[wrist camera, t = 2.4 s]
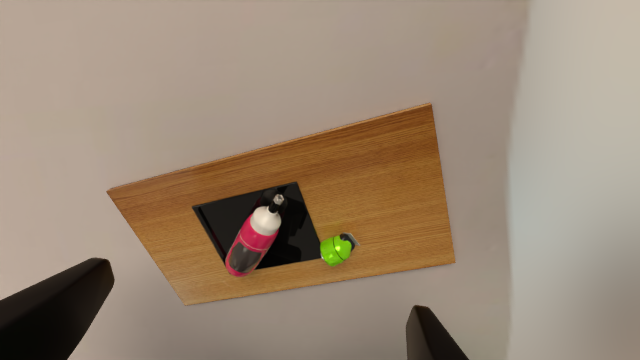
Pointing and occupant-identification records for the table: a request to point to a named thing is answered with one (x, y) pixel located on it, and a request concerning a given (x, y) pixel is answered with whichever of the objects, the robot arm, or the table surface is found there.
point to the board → (298, 211)
